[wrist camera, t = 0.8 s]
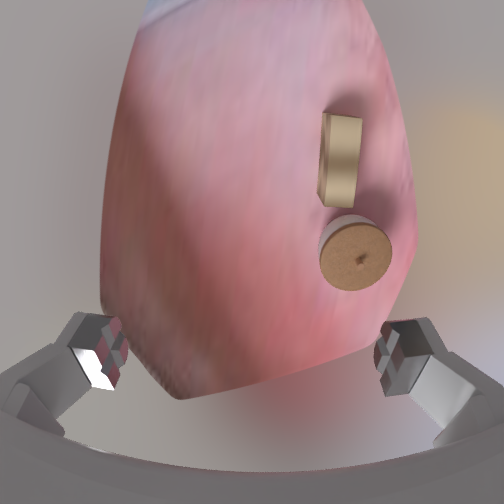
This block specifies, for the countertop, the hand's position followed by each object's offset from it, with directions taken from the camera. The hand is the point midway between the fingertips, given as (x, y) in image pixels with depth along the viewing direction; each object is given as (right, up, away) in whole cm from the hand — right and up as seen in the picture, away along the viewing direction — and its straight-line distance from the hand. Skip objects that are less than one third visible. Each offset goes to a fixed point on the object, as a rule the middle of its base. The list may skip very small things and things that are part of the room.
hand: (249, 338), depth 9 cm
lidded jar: (+15, +5, +38) cm, 42 cm away
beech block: (+12, +17, +32) cm, 38 cm away
